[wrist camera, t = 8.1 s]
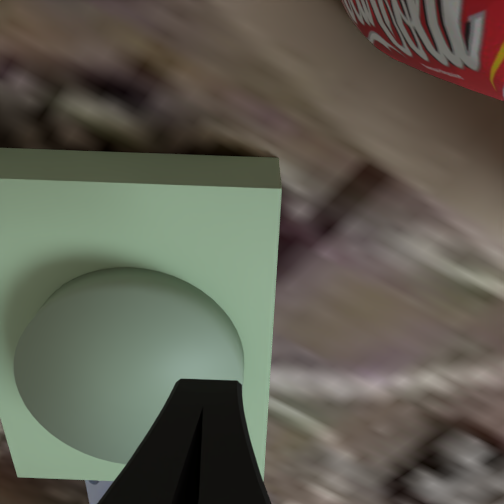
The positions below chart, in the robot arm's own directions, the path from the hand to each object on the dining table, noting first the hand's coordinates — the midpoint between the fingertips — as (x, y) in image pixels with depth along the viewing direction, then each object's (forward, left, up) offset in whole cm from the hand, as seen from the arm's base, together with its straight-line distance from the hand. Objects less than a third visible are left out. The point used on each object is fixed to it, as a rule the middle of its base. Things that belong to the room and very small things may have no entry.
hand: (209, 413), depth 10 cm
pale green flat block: (-4, +7, -10) cm, 13 cm away
